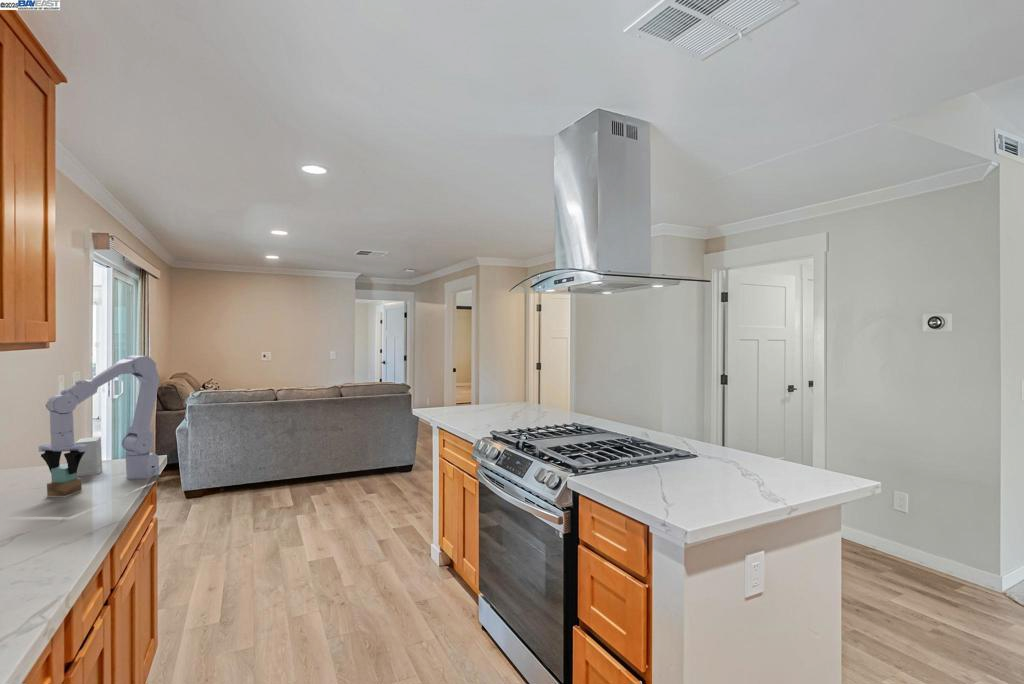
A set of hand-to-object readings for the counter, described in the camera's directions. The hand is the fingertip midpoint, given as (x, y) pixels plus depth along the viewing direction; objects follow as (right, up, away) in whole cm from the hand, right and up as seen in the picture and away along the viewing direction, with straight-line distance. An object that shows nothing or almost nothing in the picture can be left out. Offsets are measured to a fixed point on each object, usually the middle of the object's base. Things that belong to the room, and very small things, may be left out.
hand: (63, 473), depth 169 cm
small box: (-11, -7, +24) cm, 27 cm away
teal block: (0, -2, 0) cm, 2 cm away
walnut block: (0, -6, 0) cm, 6 cm away
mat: (0, -7, 0) cm, 7 cm away
